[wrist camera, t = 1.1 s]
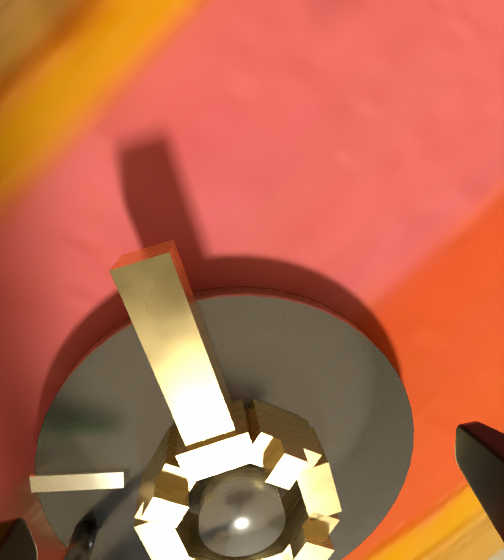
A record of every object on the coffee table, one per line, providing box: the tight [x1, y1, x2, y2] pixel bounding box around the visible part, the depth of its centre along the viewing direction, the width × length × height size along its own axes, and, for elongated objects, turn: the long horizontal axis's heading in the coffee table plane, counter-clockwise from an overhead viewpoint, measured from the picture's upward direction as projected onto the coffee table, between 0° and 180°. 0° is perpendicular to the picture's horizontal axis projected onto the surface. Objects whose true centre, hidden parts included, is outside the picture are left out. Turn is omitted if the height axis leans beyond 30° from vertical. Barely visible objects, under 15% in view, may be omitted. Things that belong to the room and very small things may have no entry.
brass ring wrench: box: [110, 240, 342, 560], centre depth 17 cm, size 18×9×3 cm, turn 16°
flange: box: [29, 287, 414, 560], centre depth 19 cm, size 20×20×4 cm
